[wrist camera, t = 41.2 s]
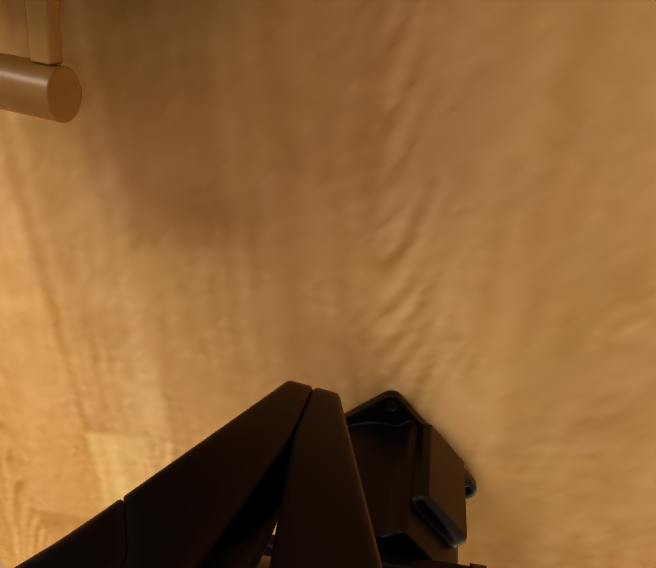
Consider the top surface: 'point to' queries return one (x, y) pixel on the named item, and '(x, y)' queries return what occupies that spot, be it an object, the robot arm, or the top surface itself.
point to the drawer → (40, 70)
